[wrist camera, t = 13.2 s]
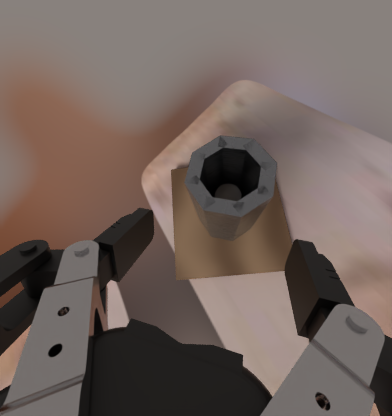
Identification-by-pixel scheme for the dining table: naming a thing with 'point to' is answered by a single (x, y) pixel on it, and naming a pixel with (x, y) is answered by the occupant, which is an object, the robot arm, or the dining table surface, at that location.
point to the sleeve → (230, 174)
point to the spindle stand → (224, 249)
